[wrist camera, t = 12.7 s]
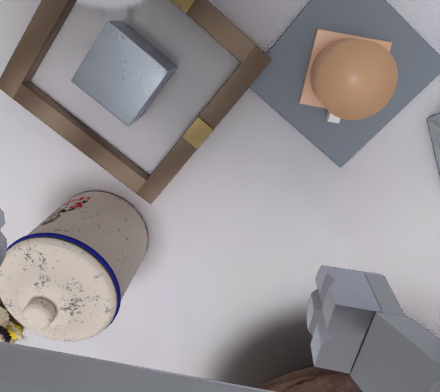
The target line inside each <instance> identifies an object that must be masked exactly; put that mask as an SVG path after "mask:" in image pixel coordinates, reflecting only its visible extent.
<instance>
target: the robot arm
mask: <svg viewBox="0 0 440 392" xmlns="http://www.w3.org/2000/svg"><path fill="white" fill-rule="evenodd" d="M4 225H5V219H4V212H3V211H2V210H1V209H0V229H1V228H2V227H3V226H4ZM6 251H7V239H6V238H5V236H4V235H3V234H2V232H1V231H0V267H1V265H2V263H3V261H4V259H5V257H6ZM316 283H317V288H318V289H316V290H315V291H314V292H312V293H311V296H310V299H309V303H308V309H307V327H308V331H309V332H310V333H311V334H312V336H313V338H312V341H311V344H310V346H311V351H312V357H313V363H314V366H315V367H320V368H324V369H329V370H334V371H339V372H343V373H348V374H351V375H350V376H351V377H352V379H353V380H354V381H355V382H356V384H357V385H358V386H359V388H360V389H361V390H362V391H363V392H440V339H439V338H438V337H437V336H435V335H434V334H433V333H431V332H430V331H429V330H427V329H426V328H425V327H423V326H422V325H421V324H419V323H418V322H417V321H415V320H414V319H412V318H407V317H406V316H405V314H404V312H403V311H402V309H401V307H400V305H399V303H398V301H397V299H396V297H395V295H394V293H393V291H392V289H391V287H390V286H389V284H388V282H387V280H386V278H385V276H383V275H382V274H377V273H370V272H363V271H356V270H350V269H343V268H337V267H330V266H323V265H321V267H320V268H319V270H318V273H317V276H316ZM0 392H275V391H270V390H264V389H259V388H253V387H248V386H242V385H237V384H231V383H226V382H220V381H215V380H210V379H204V378H199V377H193V376H188V375H182V374H177V373H171V372H166V371H160V370H155V369H150V368H144V367H139V366H133V365H128V364H122V363H117V362H111V361H106V360H100V359H95V358H90V357H84V356H79V355H73V354H68V353H62V352H57V351H52V350H46V349H41V348H35V347H30V346H24V345H19V344H13V343H8V342H3V341H0Z"/></svg>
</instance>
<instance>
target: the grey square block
mask: <svg viewBox="0 0 440 392" xmlns="http://www.w3.org/2000/svg"><path fill="white" fill-rule="evenodd" d="M176 69H177V67H176V66H175V65H173V64H172V63H171V62H170V61H169V60H168V59H166V58H165V57H164V56H163V55H162V54H161V53H159V52H158V51H157V50H156V49H155V48H154V47H152V46H151V45H150V44H149V43H148V42H147V41H145V40H144V39H143V38H142V37H141V36H140V35H138V34H137V33H136V32H135V31H134V30H133V29H131V28H130V27H129V26H128V25H127V24H126V23H124V22H121V21H108V22H107V24H106V25H105V27H104V28H103V30H102V32H101V33H100V35H99V36H98V38H97V40H96V41H95V43H94V44H93V46H92V48H91V49H90V51H89V53H88V54H87V56H86V57H85V59H84V61H83V62H82V64H81V65H80V67H79V69H78V70H77V72H76V73H75V75H74V77H73V78H72V80H71V81H72V82H73V83H75V84H76V85H77V86H78V87H80V88H81V89H82V90H83V91H84V92H86V93H87V94H88V95H89V96H91V97H92V98H93V99H94V100H96V101H97V102H98V103H99V104H101V105H102V106H103V107H104V108H106V109H107V110H108V111H109V112H111V113H112V114H113V115H114V116H116V117H117V118H118V119H119V120H121V121H122V122H123V123H124V124H126V125H127V126H129V125H131V124H132V123H134V122H135V121H136V120H138V119H139V118H140V117H141V116H142V115H143V113H144V112H145V111H146V109H147V108H148V107H149V105H150V104H151V102H152V101H153V100H154V98H155V97H156V96H157V94H158V93H159V92H160V90H161V89H162V88H163V86H164V85H165V83H166V82H167V81H168V79H169V78H170V77H171V75H172V74H173V73H174V71H175V70H176Z"/></svg>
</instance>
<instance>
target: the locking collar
mask: <svg viewBox="0 0 440 392" xmlns="http://www.w3.org/2000/svg"><path fill="white" fill-rule="evenodd" d="M171 1H172V2H173V3H174V4H176V5H177V6H178V7H179V8H180V9H181V10H182V11H183V12H185V13H186V14H187V15H189V16H190V17H191V18H192V19H193V20H194V21H195V22H196V23H198V24H199V25H200V26H201V27H202V28H203V29H204V30H205V31H207V32H208V33H209V34H210V35H211V36H212V37H213V38H214V39H215V40H217V41H218V42H219V43H220V44H221V45H222V46H223V47H224V48H226V49H227V50H228V51H229V52H230V53H231V54H232V55H233V56H235V57H236V58H237V59H238V60H239V61H240V62H241V64H240V65H239V67H238V68H237V69H236V70H235V72H234V73H233V74H232V75H231V77H230V78H229V79H228V80H227V82H226V83H225V84H224V85H223V86H222V88H221V89H220V90H219V91H218V93H217V94H216V95H215V96H214V98H213V99H212V100H211V101H210V103H209V104H208V105H207V106H206V108H205V109H204V110H203V111H202V112H201V114H200V115H199V116H198V117H197V119H196V120H195V121H194V122H193V124H192V125H191V126H190V127H189V129H188V130H187V131H186V132H185V134H184V135H183V136H182V137H181V138H180V140H179V141H178V142H177V143H176V145H175V146H174V147H173V148H172V150H171V151H170V152H169V153H168V155H167V156H166V157H165V158H164V160H163V161H162V162H161V163H160V165H159V166H158V167H157V168H156V169H155V171H154V172H153V173H152V174H151V176H150V175H149V174H147V173H146V172H145V171H143V170H142V169H141V168H140V167H138V166H137V165H136V164H135V163H133V162H132V161H131V160H129V159H128V158H127V157H126V156H124V155H123V154H122V153H120V152H119V151H118V150H117V149H115V148H114V147H113V146H112V145H110V144H109V143H108V142H106V141H105V140H104V139H103V138H101V137H100V136H99V135H98V134H96V133H95V132H94V131H92V130H91V129H90V128H89V127H87V126H86V125H85V124H84V123H82V122H81V121H80V120H78V119H77V118H76V117H75V116H73V115H72V114H71V113H69V112H68V111H67V110H66V109H64V108H63V107H62V106H61V105H59V104H58V103H57V102H55V101H54V100H53V99H52V98H50V97H49V96H48V95H47V94H45V93H44V92H43V91H41V90H40V89H39V88H38V87H36V86H35V85H34V84H32V83H31V82H30V80H31V79H32V77H33V75H34V73H35V72H36V70H37V68H38V67H39V65H40V63H41V61H42V60H43V58H44V56H45V54H46V53H47V51H48V49H49V47H50V46H51V44H52V42H53V40H54V39H55V37H56V35H57V33H58V32H59V30H60V28H61V26H62V25H63V23H64V21H65V19H66V18H67V16H68V14H69V12H70V11H71V9H72V7H73V5H74V4H75V2H76V0H42V1H41V3H40V5H39V7H38V9H37V10H36V12H35V14H34V16H33V18H32V20H31V22H30V23H29V25H28V27H27V29H26V31H25V33H24V35H23V36H22V38H21V40H20V42H19V44H18V46H17V48H16V50H15V51H14V53H13V55H12V57H11V59H10V61H9V63H8V64H7V66H6V68H5V70H4V72H3V74H2V76H1V78H0V89H1V90H2V91H4V92H5V93H6V94H7V95H9V96H10V97H11V98H13V99H14V100H15V101H17V102H18V103H19V104H20V105H22V106H23V107H24V108H26V109H27V110H28V111H30V112H31V113H32V114H34V115H35V116H36V117H37V118H39V119H40V120H41V121H43V122H44V123H45V124H47V125H48V126H49V127H50V128H52V129H53V130H54V131H56V132H57V133H58V134H60V135H61V136H62V137H63V138H65V139H66V140H67V141H69V142H70V143H71V144H73V145H74V146H75V147H76V148H78V149H79V150H80V151H82V152H83V153H84V154H86V155H87V156H88V157H89V158H91V159H92V160H93V161H95V162H96V163H97V164H99V165H100V166H101V167H102V168H104V169H105V170H106V171H108V172H109V173H110V174H112V175H113V176H114V177H116V178H117V179H118V180H119V181H121V182H122V183H123V184H125V185H126V186H127V187H129V188H130V189H131V190H132V191H134V192H135V193H136V194H138V195H139V196H140V197H142V198H143V199H144V200H145V201H147V202H148V203H149V204H151V203H152V202H153V201H154V200H155V199H156V197H157V196H158V195H159V194H160V193H161V191H162V190H163V189H164V188H165V187H166V185H167V184H168V183H169V182H170V181H171V180H172V178H173V177H174V176H175V175H176V174H177V172H178V171H179V170H180V169H181V168H182V166H183V165H184V164H185V163H186V162H187V160H188V159H189V158H190V157H191V156H192V155H193V153H194V152H195V151H196V150H197V149H198V148H199V147H200V145H201V144H202V143H203V142H204V141H205V139H206V138H207V137H208V136H209V135H210V133H211V132H212V131H213V130H214V128H215V127H216V126H217V125H218V124H219V122H220V121H221V120H222V119H223V118H224V116H225V115H226V114H227V113H228V112H229V110H230V109H231V108H232V107H233V106H234V105H235V103H236V102H237V101H238V100H239V99H240V97H241V96H242V95H243V94H244V93H245V91H246V90H247V89H248V88H249V87H250V86H251V84H252V83H253V82H254V81H255V80H256V78H257V77H258V76H259V75H260V74H261V72H262V71H263V70H264V69H265V68H266V66H267V65H268V64H269V63H270V62H271V61H272V59H271V58H270V57H269V56H267V54H266V53H265V52H264V51H262V50H261V49H260V48H259V47H258V46H257V45H256V44H255V43H254V42H253V41H251V40H250V39H249V38H248V37H247V36H246V35H245V34H244V33H243V32H242V31H241V30H239V29H238V28H237V27H236V26H235V25H234V24H233V23H232V22H231V21H230V20H228V19H227V18H226V17H225V16H224V15H223V14H222V13H221V12H220V11H219V10H217V9H216V8H215V7H214V6H213V5H212V4H211V3H210V2H209V1H208V0H171Z"/></svg>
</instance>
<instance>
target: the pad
mask: <svg viewBox="0 0 440 392" xmlns="http://www.w3.org/2000/svg"><path fill="white" fill-rule="evenodd" d="M316 29H321V30H326V31H332V32H337V33H343V34H348V35H354V36H359V37H365V38H370V39H376V40H381V41H387V42H392V45H391V48H390V53H391V55H392V56H393V58H394V60H395V62H396V66H397V71H398V80H397V86H396V89H395V92H394V94H393V96H392V98H391V99H390V101H389V102H388V103H387V104H386V105H385V107H384V108H382V109H381V110H380V111H379V112H377V113H376V114H374V115H372V116H370V117H368V118H365V119H361V120H345V119H340V122H339V123H333V122H328V121H327V120H326V118H327V114H328V110H327V109H326V108H321V107H316V106H310V105H305V104H300V103H299V99H300V94H301V90H302V86H303V82H304V78H305V74H306V70H307V66H308V62H309V58H310V54H311V50H312V46H313V42H314V37H315V33H316ZM267 56H269V57H270V58H271V59H272V61H271V62H270V63H269V64H268V65H267V66H266V68H265V69H264V70H263V71H262V72H261V74H260V75H259V76H258V77H257V78H256V80H255V81H254V82H253V83H252V84H251V86H250V87H249V88H251V89H252V90H253V91H254V92H255V93H256V94H257V95H258V96H260V97H261V98H262V99H263V100H264V101H265V102H266V103H268V104H269V105H270V106H271V107H272V108H273V109H274V110H275V111H277V112H278V113H279V114H280V115H281V116H282V117H283V118H285V119H286V120H287V121H288V122H289V123H290V124H291V125H292V126H294V127H295V128H296V129H297V130H298V131H299V132H300V133H302V134H303V135H304V136H305V137H306V138H307V139H308V140H309V141H311V142H312V143H313V144H314V145H315V146H316V147H317V148H319V149H320V150H321V151H322V152H323V153H324V154H325V155H326V156H328V157H329V158H330V159H331V160H332V161H333V162H334V163H336V164H337V165H338V166H339V167H340V168H341V167H342V166H343V165H344V164H345V163H346V162H347V161H348V160H349V159H350V158H351V157H353V156H354V155H355V154H356V153H357V152H358V151H359V150H360V149H361V148H362V147H363V146H364V145H365V144H366V143H367V142H368V141H369V140H370V139H371V138H373V137H374V136H375V135H376V134H377V133H378V132H379V131H380V130H381V129H382V128H383V127H384V126H385V125H386V124H387V123H388V122H389V121H390V120H391V119H392V118H394V117H395V116H396V115H397V114H398V113H399V112H400V111H401V110H402V109H403V108H404V107H405V106H406V105H407V104H408V103H409V102H410V101H411V100H412V99H414V98H415V97H416V96H417V95H418V94H419V93H420V92H421V91H422V90H423V89H424V88H425V87H426V86H427V85H428V84H429V83H430V82H431V81H432V80H433V79H435V78H436V77H437V76H438V75H439V74H440V55H439V54H438V53H437V52H436V51H435V50H434V49H433V48H432V47H431V46H430V45H429V44H428V43H427V42H426V41H425V40H424V39H423V38H422V37H421V36H420V35H419V34H418V33H417V32H416V31H415V30H414V29H413V28H412V27H411V26H410V25H409V23H408V22H407V21H406V20H405V19H404V18H403V17H402V16H401V15H400V14H399V13H398V12H397V11H396V10H395V9H394V8H393V7H392V6H391V5H390V4H389V3H388V2H387V1H386V0H311V1H310V2H309V4H308V5H307V6H306V7H305V8H304V10H303V11H302V12H301V13H300V14H299V16H298V17H297V18H296V19H295V20H294V22H293V23H292V24H291V25H290V26H289V28H288V29H287V30H286V31H285V32H284V34H283V35H282V36H281V37H280V39H279V40H278V41H277V42H276V43H275V45H274V46H273V47H272V48H271V49H270V51H269V52H268V53H267Z"/></svg>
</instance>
